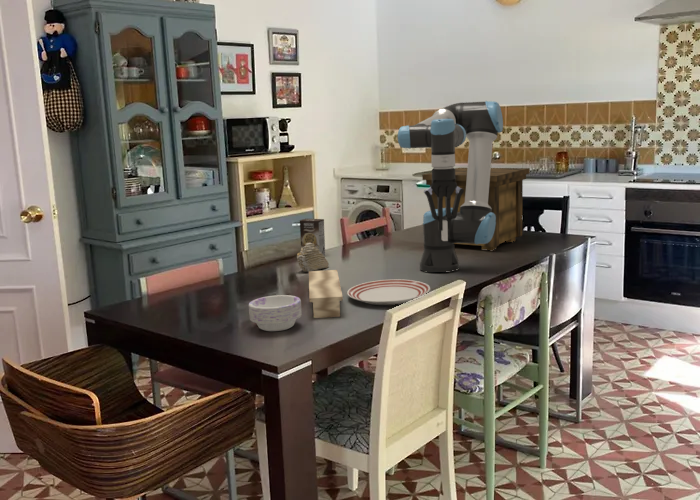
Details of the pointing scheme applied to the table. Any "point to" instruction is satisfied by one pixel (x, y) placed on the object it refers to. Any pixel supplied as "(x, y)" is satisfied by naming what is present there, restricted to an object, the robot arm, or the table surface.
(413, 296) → the dinner plate
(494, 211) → the crate
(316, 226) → the coffee box
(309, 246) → the fossil tooth
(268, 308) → the paper bowls
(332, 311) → the long wooden block
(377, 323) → the table surface
